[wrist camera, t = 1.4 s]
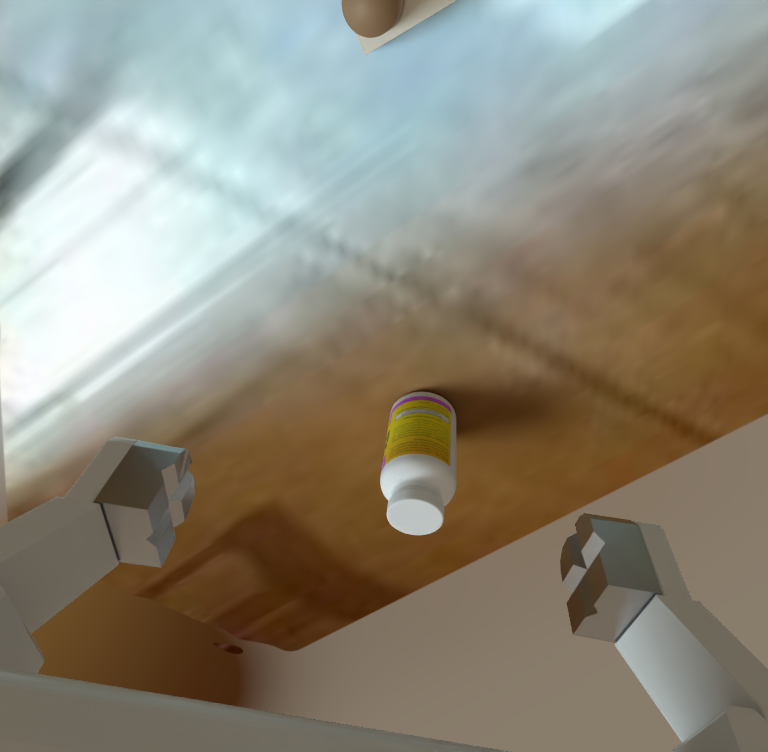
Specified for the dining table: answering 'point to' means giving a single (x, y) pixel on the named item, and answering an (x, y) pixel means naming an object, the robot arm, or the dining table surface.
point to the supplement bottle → (419, 462)
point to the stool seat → (386, 18)
